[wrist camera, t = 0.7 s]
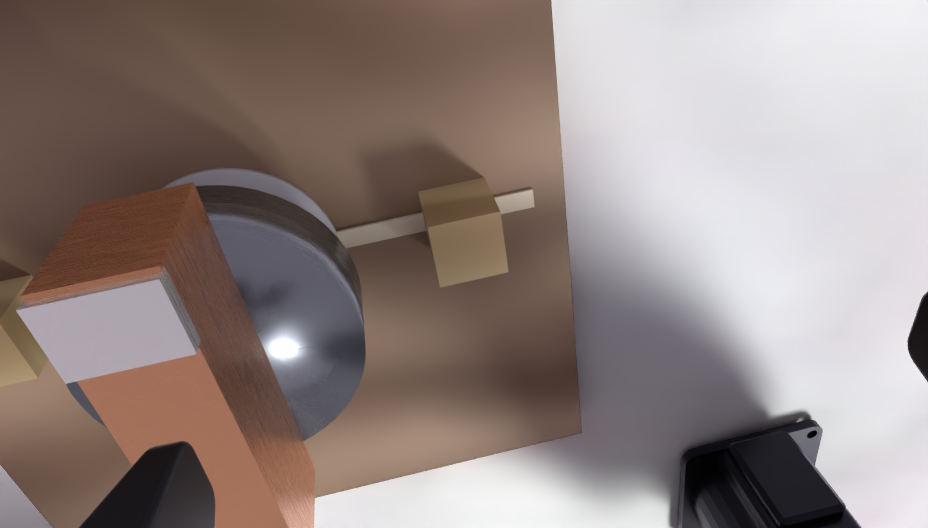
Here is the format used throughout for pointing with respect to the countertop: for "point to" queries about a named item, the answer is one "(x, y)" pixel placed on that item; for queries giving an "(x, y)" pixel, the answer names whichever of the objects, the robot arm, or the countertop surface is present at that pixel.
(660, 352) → the countertop surface
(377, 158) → the post board
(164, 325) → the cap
